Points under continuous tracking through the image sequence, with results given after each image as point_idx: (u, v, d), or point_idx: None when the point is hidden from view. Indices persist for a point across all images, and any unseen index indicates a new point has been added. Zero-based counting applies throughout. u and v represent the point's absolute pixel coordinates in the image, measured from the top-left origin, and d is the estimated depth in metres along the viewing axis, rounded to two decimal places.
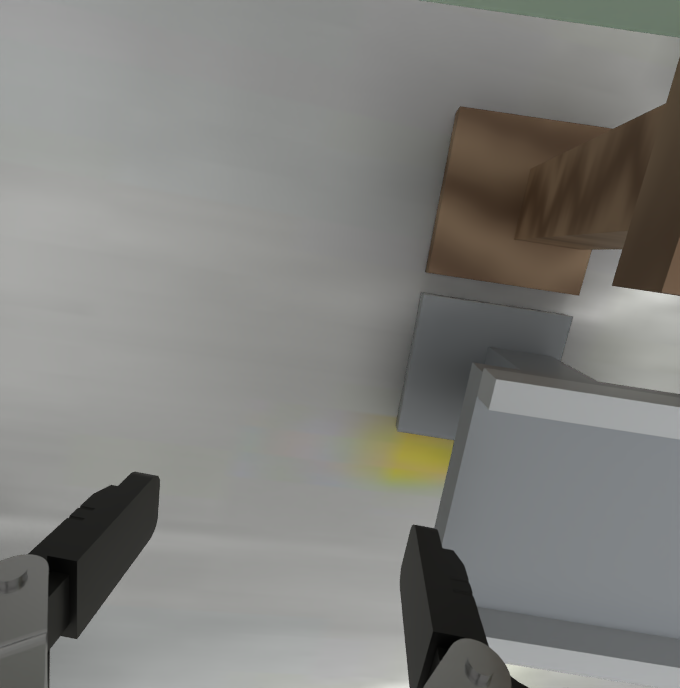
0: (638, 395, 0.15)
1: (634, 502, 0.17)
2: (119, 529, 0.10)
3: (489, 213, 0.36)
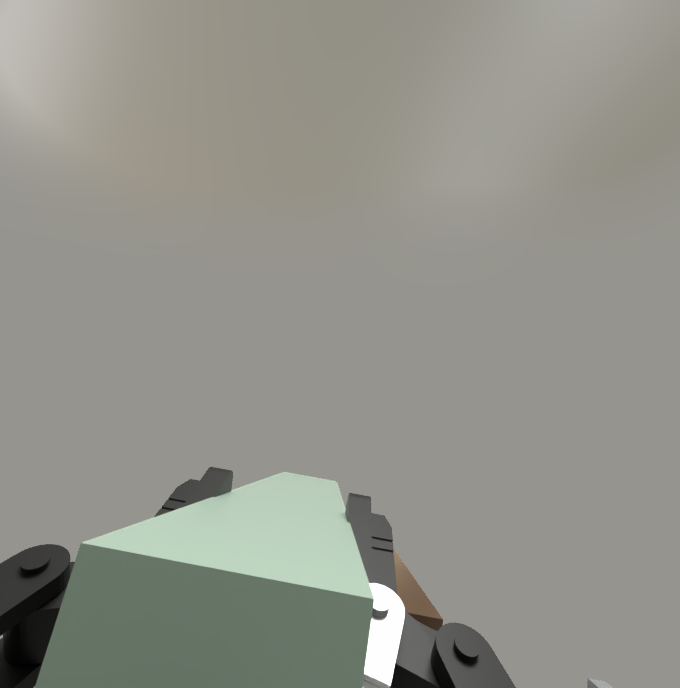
0: None
1: None
2: None
3: None
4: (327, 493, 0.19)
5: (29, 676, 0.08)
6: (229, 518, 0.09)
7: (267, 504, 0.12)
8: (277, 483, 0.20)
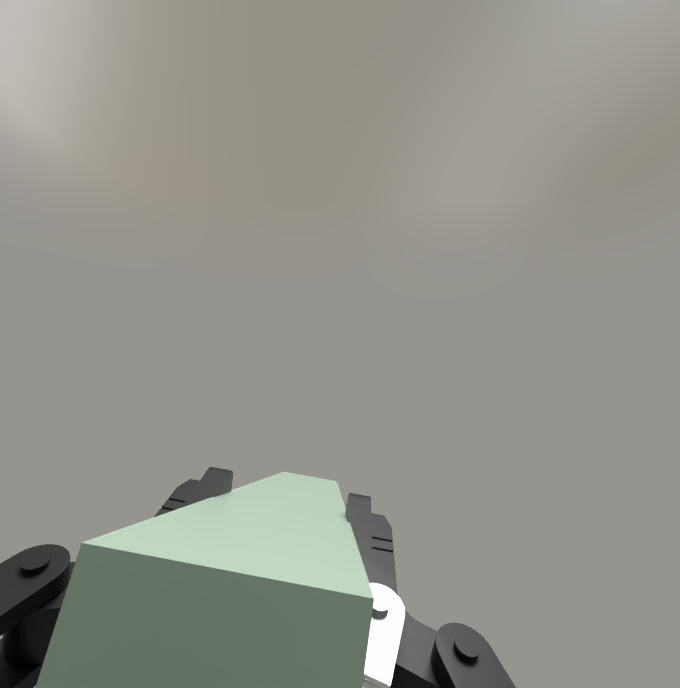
0: None
1: None
2: None
3: None
4: (327, 493, 0.19)
5: (29, 676, 0.08)
6: (229, 518, 0.09)
7: (267, 504, 0.12)
8: (277, 483, 0.20)
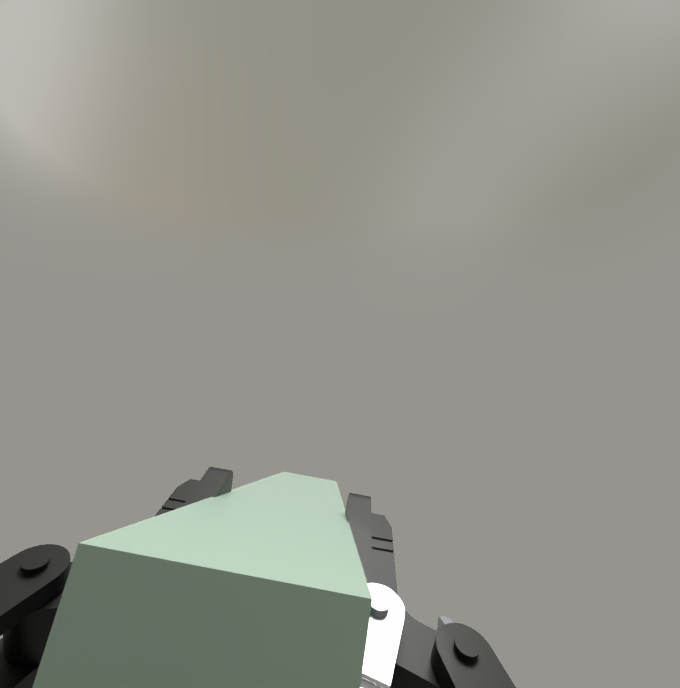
0: None
1: None
2: None
3: None
4: (326, 493, 0.19)
5: (29, 676, 0.08)
6: (228, 518, 0.09)
7: (266, 504, 0.12)
8: (276, 483, 0.20)
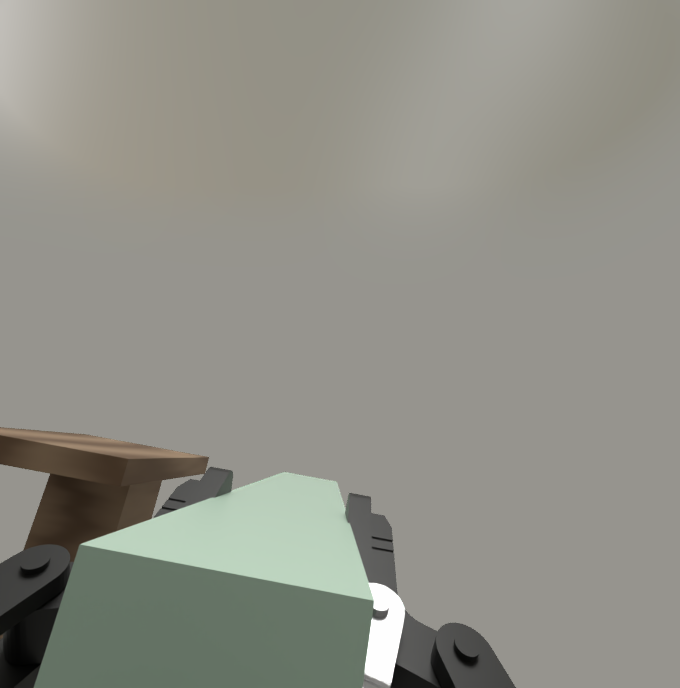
0: None
1: None
2: None
3: None
4: (327, 493, 0.19)
5: (29, 676, 0.08)
6: (229, 519, 0.09)
7: (267, 504, 0.12)
8: (277, 483, 0.20)
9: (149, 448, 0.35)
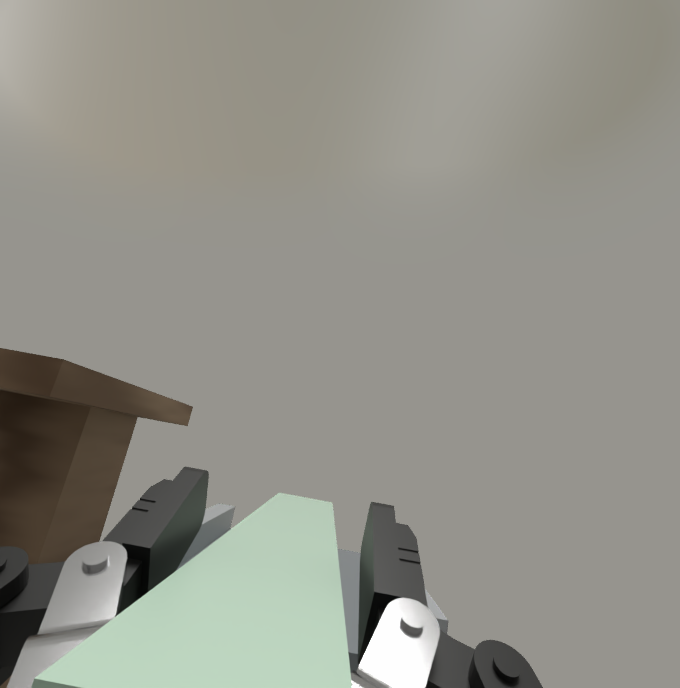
0: None
1: None
2: (179, 519, 0.11)
3: None
4: (321, 527, 0.19)
5: None
6: (210, 596, 0.08)
7: (255, 560, 0.12)
8: (269, 516, 0.19)
9: None
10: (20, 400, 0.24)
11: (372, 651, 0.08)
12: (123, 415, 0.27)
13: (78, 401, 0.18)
